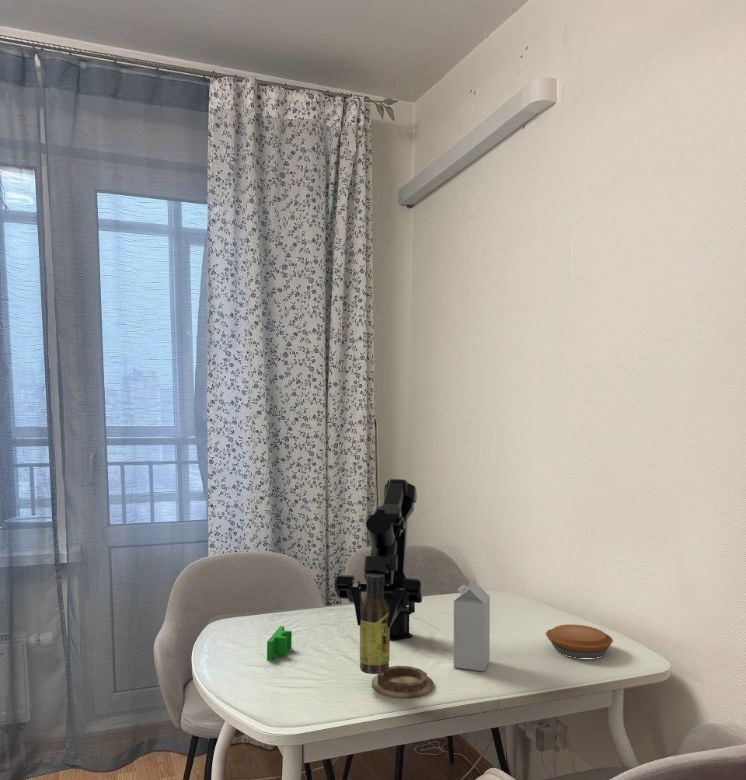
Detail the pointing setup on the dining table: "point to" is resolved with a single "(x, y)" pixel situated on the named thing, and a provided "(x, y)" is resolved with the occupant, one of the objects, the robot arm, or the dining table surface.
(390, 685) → the ring holder
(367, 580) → the sauce bottle
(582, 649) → the pie
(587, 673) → the dining table surface
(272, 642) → the pipe clamp
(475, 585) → the milk carton
